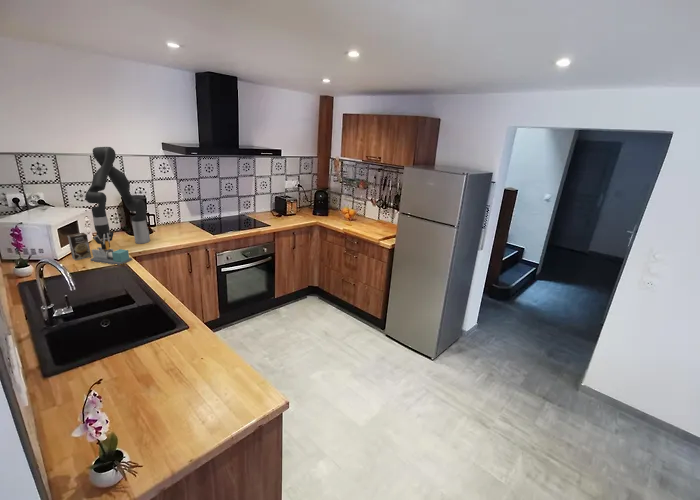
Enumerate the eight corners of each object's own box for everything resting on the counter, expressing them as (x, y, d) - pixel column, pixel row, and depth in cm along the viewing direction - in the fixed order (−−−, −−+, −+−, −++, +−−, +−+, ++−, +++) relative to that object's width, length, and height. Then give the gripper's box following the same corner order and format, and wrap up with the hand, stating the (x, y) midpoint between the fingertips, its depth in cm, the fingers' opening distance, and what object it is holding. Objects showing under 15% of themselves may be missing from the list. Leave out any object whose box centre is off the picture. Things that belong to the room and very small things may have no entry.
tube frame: (90, 261, 224) (88, 250, 221) (104, 255, 233) (101, 245, 231) (119, 265, 220) (117, 254, 217) (131, 259, 229) (130, 249, 227)
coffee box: (75, 260, 223) (70, 237, 218) (72, 258, 227) (66, 235, 221) (92, 257, 230) (87, 234, 225) (88, 254, 234) (83, 232, 228)
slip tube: (103, 257, 225) (100, 242, 221) (108, 255, 228) (105, 240, 224) (120, 259, 223) (117, 244, 219) (124, 257, 226) (121, 242, 222)
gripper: (105, 219, 225) (110, 244, 231) (86, 225, 212) (91, 251, 218) (115, 221, 224) (119, 245, 230) (96, 226, 211) (101, 252, 217)
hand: (106, 248), depth 224 cm, fingers closed on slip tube, 2 cm apart
